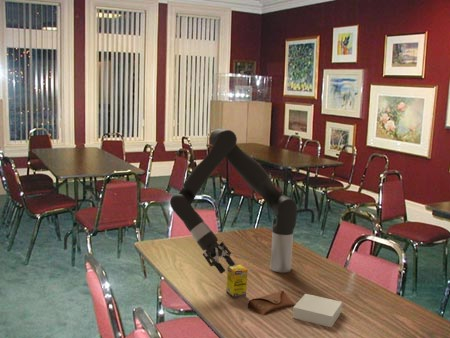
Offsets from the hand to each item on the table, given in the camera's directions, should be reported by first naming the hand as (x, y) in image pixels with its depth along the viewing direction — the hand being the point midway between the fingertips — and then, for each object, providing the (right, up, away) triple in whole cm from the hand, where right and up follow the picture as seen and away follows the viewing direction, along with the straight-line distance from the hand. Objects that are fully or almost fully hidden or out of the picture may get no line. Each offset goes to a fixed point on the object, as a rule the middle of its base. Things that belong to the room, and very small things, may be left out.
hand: (228, 269), depth 199 cm
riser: (+32, -14, -16) cm, 38 cm away
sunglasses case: (+16, -13, -10) cm, 23 cm away
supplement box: (+3, -10, 0) cm, 11 cm away
